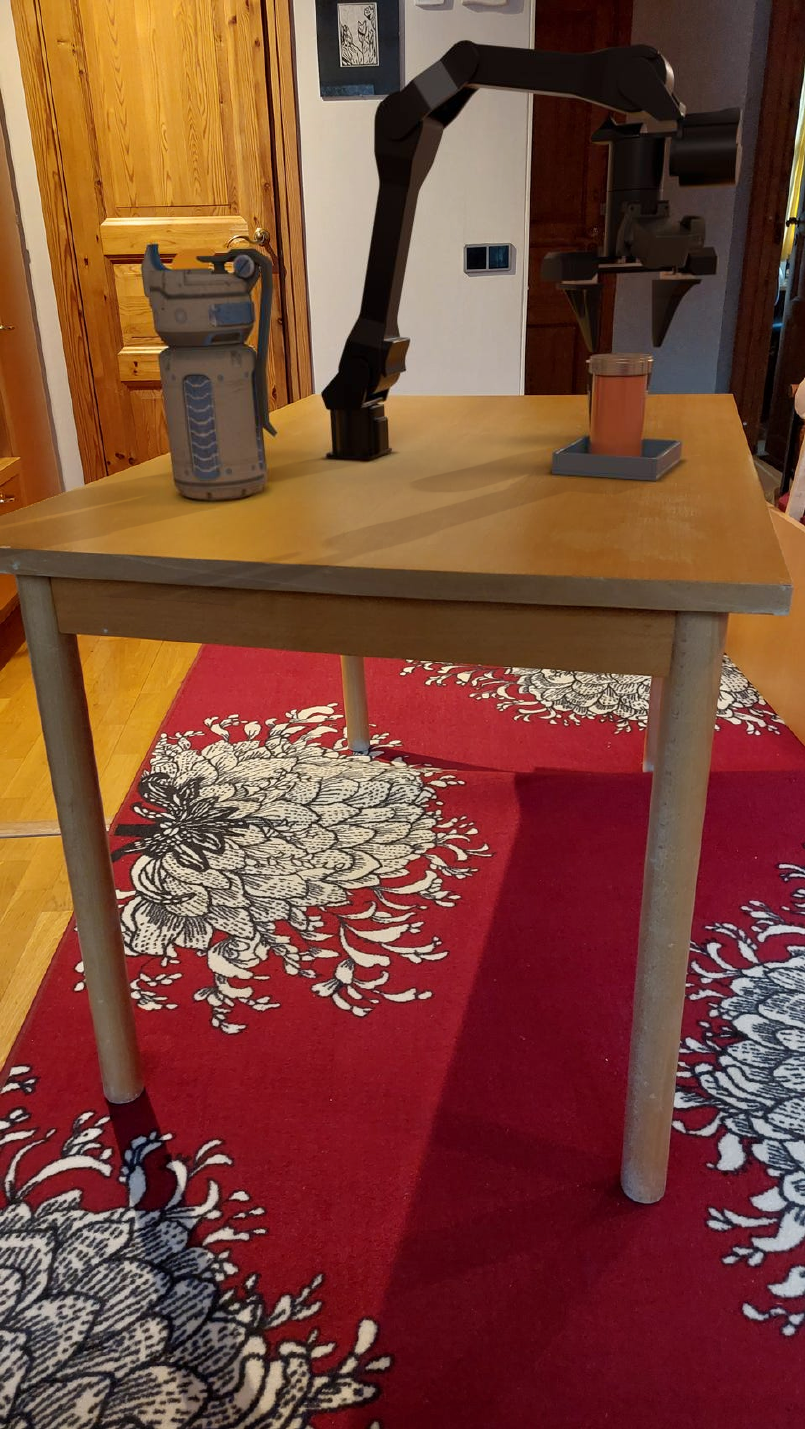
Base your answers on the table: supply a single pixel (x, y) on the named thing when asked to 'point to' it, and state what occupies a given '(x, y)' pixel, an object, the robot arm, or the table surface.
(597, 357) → the lid
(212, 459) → the fragmentation grenade prop
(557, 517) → the table surface
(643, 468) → the tray
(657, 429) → the table surface
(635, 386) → the jar
